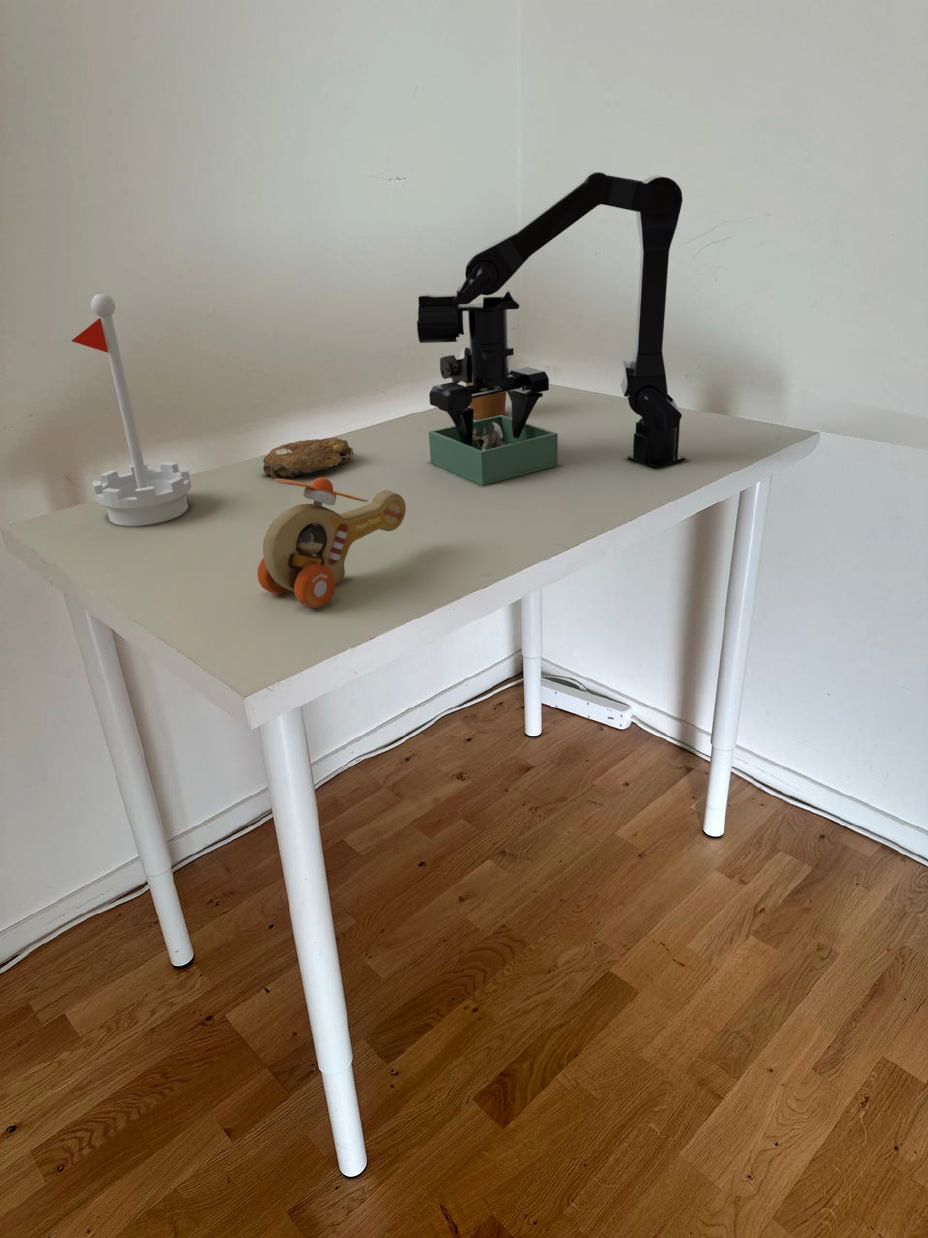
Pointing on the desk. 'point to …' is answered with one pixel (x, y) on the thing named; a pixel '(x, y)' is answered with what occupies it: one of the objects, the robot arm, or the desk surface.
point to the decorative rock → (306, 457)
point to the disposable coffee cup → (488, 402)
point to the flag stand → (132, 446)
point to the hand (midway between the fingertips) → (492, 443)
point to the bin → (494, 452)
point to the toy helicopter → (320, 541)
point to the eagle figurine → (489, 437)
